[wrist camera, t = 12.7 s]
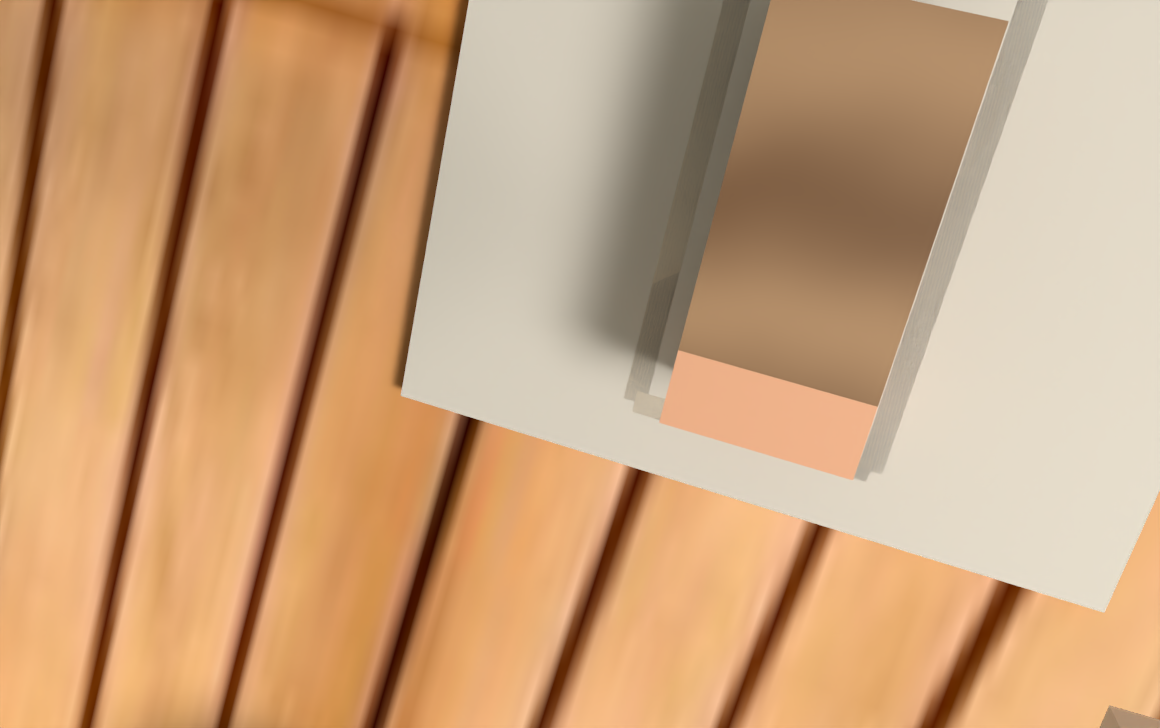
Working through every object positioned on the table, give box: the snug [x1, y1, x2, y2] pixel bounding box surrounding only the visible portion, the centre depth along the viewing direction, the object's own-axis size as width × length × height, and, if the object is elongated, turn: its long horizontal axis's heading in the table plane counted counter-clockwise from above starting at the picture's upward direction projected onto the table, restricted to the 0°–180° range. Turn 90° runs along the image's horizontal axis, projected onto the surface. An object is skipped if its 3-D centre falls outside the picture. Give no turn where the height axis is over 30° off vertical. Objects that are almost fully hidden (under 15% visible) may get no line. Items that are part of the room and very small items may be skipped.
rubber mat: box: [401, 0, 1160, 612], centre depth 28 cm, size 22×18×1 cm
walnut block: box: [659, 0, 1009, 480], centre depth 25 cm, size 11×5×4 cm, turn 167°
